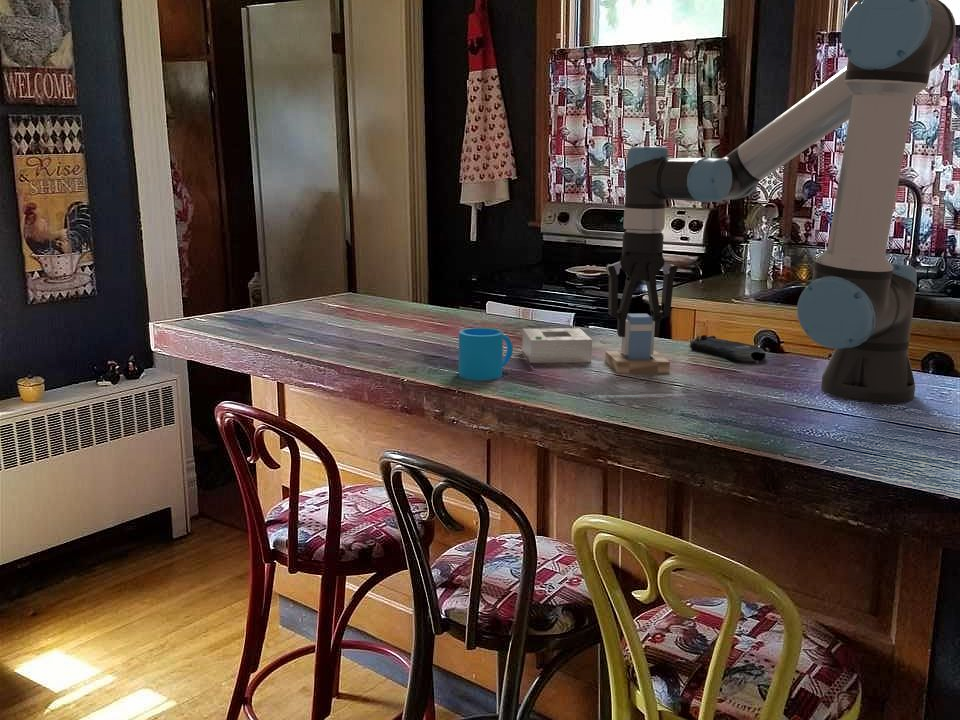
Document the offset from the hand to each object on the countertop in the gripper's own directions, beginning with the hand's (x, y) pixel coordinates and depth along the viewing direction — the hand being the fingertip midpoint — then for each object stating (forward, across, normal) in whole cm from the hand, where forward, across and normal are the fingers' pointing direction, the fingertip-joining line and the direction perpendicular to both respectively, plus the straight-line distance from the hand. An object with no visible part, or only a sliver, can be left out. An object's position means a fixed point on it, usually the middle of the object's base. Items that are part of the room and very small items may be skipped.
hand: (637, 353), depth 176 cm
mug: (+3, +29, +2) cm, 29 cm away
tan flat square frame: (+3, 0, 0) cm, 3 cm away
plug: (+3, 0, 0) cm, 3 cm away
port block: (+3, +14, -10) cm, 17 cm away
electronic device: (+4, -23, -11) cm, 25 cm away
